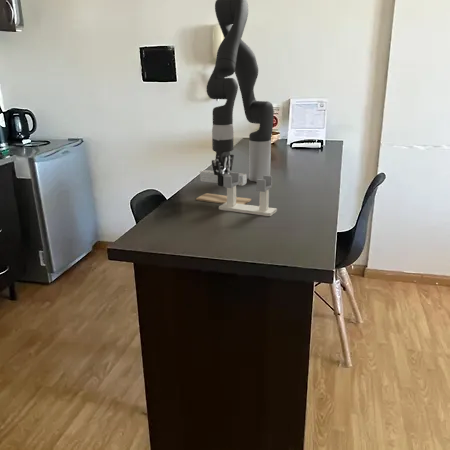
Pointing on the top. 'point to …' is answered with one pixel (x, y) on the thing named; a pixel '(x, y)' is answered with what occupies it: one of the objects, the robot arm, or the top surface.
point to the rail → (210, 177)
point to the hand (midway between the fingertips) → (223, 184)
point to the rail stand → (231, 204)
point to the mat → (221, 199)
